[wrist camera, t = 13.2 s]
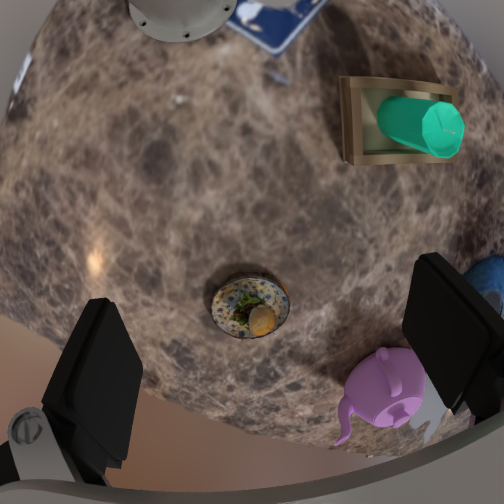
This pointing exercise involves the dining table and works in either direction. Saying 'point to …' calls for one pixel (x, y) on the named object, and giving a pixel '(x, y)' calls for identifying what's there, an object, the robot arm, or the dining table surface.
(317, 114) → the dining table surface
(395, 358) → the teapot
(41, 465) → the robot arm
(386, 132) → the candle
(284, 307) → the plate of food
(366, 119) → the tray
